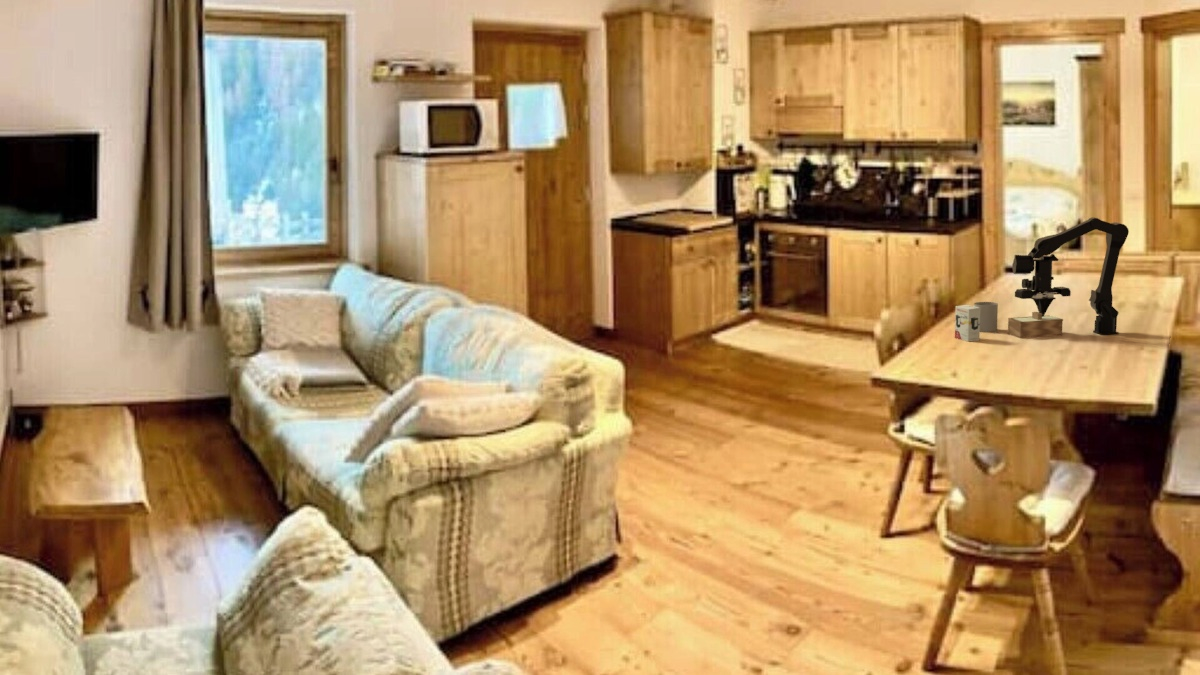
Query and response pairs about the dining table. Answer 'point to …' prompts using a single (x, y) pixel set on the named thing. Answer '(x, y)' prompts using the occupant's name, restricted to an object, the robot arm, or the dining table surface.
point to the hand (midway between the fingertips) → (1041, 316)
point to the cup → (988, 316)
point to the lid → (1037, 317)
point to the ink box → (967, 323)
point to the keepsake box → (1034, 328)
